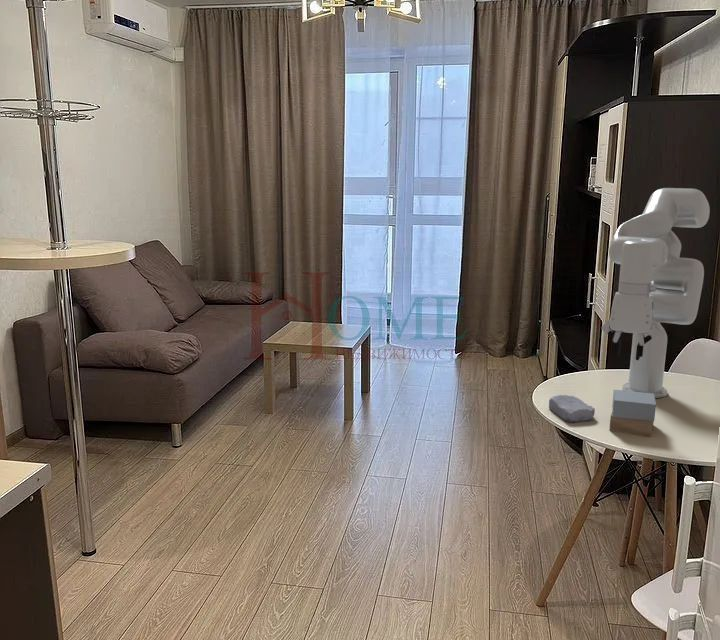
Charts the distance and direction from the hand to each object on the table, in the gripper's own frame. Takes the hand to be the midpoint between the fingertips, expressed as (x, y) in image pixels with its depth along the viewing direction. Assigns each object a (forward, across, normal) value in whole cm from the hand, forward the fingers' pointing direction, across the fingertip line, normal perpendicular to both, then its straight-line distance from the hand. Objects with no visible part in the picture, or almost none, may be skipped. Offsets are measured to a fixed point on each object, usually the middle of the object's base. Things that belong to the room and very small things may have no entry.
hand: (627, 357), depth 184 cm
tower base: (+19, -3, +2) cm, 19 cm away
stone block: (+18, +9, -4) cm, 20 cm away
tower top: (+14, -3, +2) cm, 15 cm away
